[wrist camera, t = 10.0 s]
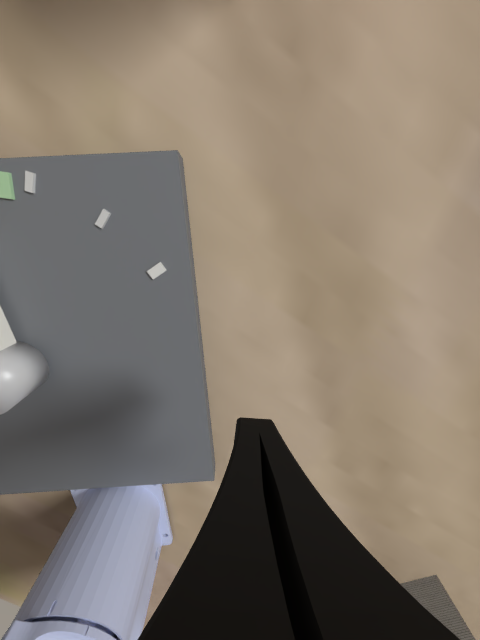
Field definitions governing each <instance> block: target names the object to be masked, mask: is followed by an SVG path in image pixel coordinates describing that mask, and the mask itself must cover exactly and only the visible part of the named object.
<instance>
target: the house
mask: <svg viewBox="0 0 480 640" xmlns="http://www.w3.org/2000/svg"><path fill="white" fill-rule="evenodd" d="M400 585H402V586H403V587H404V588H405V589H406V590H407V591H408V592H409V593H410V594H411V595H412V596H413V597H414V598H415V599H416V600H417V601H418V602H419V603H420V604H421V605H422V606H423V607H424V608H426V609H427V610H428V611H429V612H430V613H431V614H432V615H433V616H434V617H435V618H437V619H438V620H439V621H440V622H441V623H442V624H443V625H444V626H446V627H447V628H448V629H449V630H450V631H451V632H452V633H453V634H455V635H456V636H457V637H458V638H459V639H460V640H475V638H474V637H473V635H472V633H471V632H470V630H469V628H468V627H467V625H466V623H465V622H464V620H463V618H462V617H461V615H460V613H459V612H458V610H457V608H456V607H455V605H454V603H453V602H452V600H451V598H450V597H449V595H448V593H447V592H446V590H445V588H444V587H443V585H442V583H441V582H440V580H439V578H438V577H437V575H433V576H429V577H425V578H422V579H418V580H414V581H410V582H406V583H402V584H400Z"/></svg>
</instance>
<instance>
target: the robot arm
mask: <svg viewBox="0 0 480 640" xmlns="http://www.w3.org/2000/svg"><path fill="white" fill-rule="evenodd" d="M70 491H71V494H72V496H73V499H74V502H75V504H76V507H77V509H76V510H75V512H74V514H73V516H72V517H71V519H70V521H69V523H68V525H67V526H66V528H65V530H64V532H63V533H62V535H61V537H60V539H59V541H58V542H57V544H56V546H55V548H54V549H53V551H52V553H51V555H50V556H49V558H48V560H47V562H46V564H45V565H44V567H43V569H42V571H41V572H40V574H39V576H38V578H37V580H36V581H35V583H34V585H33V587H32V588H31V590H30V592H29V594H28V595H27V597H26V599H25V601H24V603H23V604H22V606H21V608H20V610H19V611H18V614H17V615H16V617H15V619H14V620H13V622H12V624H11V626H10V627H9V629H8V630H7V631H6V633H5V634H4V636H3V637H2V639H1V640H460V639H459V638H458V637H457V636H456V635H455V634H453V633H452V632H451V631H450V630H449V629H448V628H447V627H446V626H444V625H443V624H442V623H441V622H440V621H439V620H438V619H437V618H435V617H434V616H433V615H432V614H431V613H430V612H429V611H428V610H427V609H426V608H424V607H423V606H422V605H421V604H420V603H419V602H418V601H417V600H416V599H415V598H414V597H413V596H412V595H411V594H410V593H409V592H408V591H407V590H406V589H405V588H404V587H403V586H402V585H400V584H399V583H398V582H397V581H396V580H395V579H394V578H393V577H392V576H391V575H390V574H389V572H388V571H387V570H386V569H385V568H384V567H383V566H382V565H381V564H380V563H379V562H378V561H377V560H376V559H375V558H374V557H373V556H372V555H371V554H370V553H369V552H368V551H367V550H366V548H365V547H364V546H363V545H362V544H361V543H360V542H359V541H358V540H357V539H356V538H355V536H354V535H353V534H352V533H351V532H350V531H349V530H348V528H347V527H346V526H345V525H344V524H343V523H342V522H341V520H340V519H339V518H338V517H337V515H336V514H335V513H334V512H333V511H332V509H331V508H330V507H329V506H328V504H327V503H326V502H325V501H324V499H323V498H322V497H321V495H320V494H319V493H318V491H317V490H316V489H315V487H314V486H313V485H312V483H311V482H310V480H309V479H308V478H307V476H306V475H305V473H304V472H303V470H302V469H301V467H300V466H299V464H298V463H297V461H296V460H295V458H294V457H293V455H292V454H291V452H290V450H289V449H288V447H287V445H286V444H285V442H284V440H283V439H282V437H281V435H280V434H279V432H278V430H277V428H276V426H275V425H274V423H273V421H272V420H270V419H255V418H239V419H237V424H236V431H235V439H234V447H233V450H232V453H231V457H230V460H229V463H228V466H227V469H226V472H225V475H224V477H223V480H222V483H221V485H220V488H219V490H218V493H217V495H216V498H215V500H214V502H213V504H212V507H211V509H210V511H209V513H208V515H207V518H206V520H205V522H204V524H203V526H202V528H201V530H200V532H199V534H198V536H197V538H196V540H195V542H194V544H193V546H192V548H191V549H190V551H189V553H188V555H187V557H186V559H185V560H184V562H183V564H182V566H181V568H180V569H179V571H178V573H177V575H176V576H175V578H174V580H173V582H172V584H171V585H170V587H169V589H168V591H167V592H166V594H165V596H164V597H163V599H162V601H161V603H160V604H159V606H158V607H157V609H156V611H155V612H154V614H153V615H152V617H151V619H150V620H149V622H148V624H147V625H146V627H145V628H144V630H143V626H144V622H145V618H146V614H147V609H148V605H149V600H150V596H151V591H152V587H153V582H154V578H155V573H156V569H157V564H158V560H159V555H160V551H161V546H162V545H169V544H171V543H172V540H173V536H172V531H171V527H170V522H169V517H168V512H167V507H166V502H165V498H164V493H163V488H162V484H153V485H138V486H123V487H108V488H92V489H77V490H70ZM142 630H143V632H142Z"/></svg>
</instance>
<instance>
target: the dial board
mask: <svg viewBox="0 0 480 640" xmlns="http://www.w3.org/2000/svg"><path fill="white" fill-rule="evenodd" d="M0 306H1V308H2V310H3V313H4V315H5V317H6V319H7V322H8V324H9V326H10V328H11V330H12V333H13V335H14V337H15V339H16V341H20V342H24V343H27V344H29V345H31V346H33V347H34V348H36V349H37V350H38V351H40V352H41V353H42V355H43V356H44V357H45V359H46V361H47V363H48V367H49V374H48V377H47V379H46V381H45V382H44V383H43V384H41V385H40V386H39V387H38V388H36V389H35V390H34V391H33V392H31V393H30V394H29V395H28V396H26V397H25V398H24V399H23V400H21V401H20V402H19V403H17V404H16V405H15V406H14V407H12V408H11V409H10V410H9V411H7V412H6V413H4V414H1V415H0V495H1V494H16V493H31V492H47V491H62V490H77V489H92V488H108V487H123V486H138V485H153V484H169V483H184V482H199V481H214V476H215V458H214V448H213V439H212V430H211V420H210V411H209V401H208V392H207V383H206V373H205V364H204V355H203V345H202V336H201V326H200V317H199V308H198V298H197V289H196V280H195V270H194V261H193V251H192V242H191V233H190V223H189V214H188V205H187V195H186V186H185V176H184V167H183V158H182V157H181V155H180V154H179V152H178V151H177V150H173V151H152V152H130V153H108V154H86V155H64V156H42V157H21V158H0Z"/></svg>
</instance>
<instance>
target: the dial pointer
mask: <svg viewBox="0 0 480 640" xmlns="http://www.w3.org/2000/svg"><path fill="white" fill-rule="evenodd" d="M48 374H49V367H48V363H47V361H46V359H45V357H44V356H43V355H42V353H41V352H40V351H38V350H37V349H36V348H34V347H33V346H31V345H29V344H27V343H24V342H20V341H16V339H15V337H14V335H13V333H12V330H11V328H10V326H9V324H8V322H7V319H6V317H5V315H4V313H3V310H2V308H1V306H0V415H1V414H4V413H6V412H7V411H9V410H10V409H11V408H12V407H14V406H15V405H16V404H17V403H19V402H20V401H21V400H23V399H24V398H25V397H26V396H28V395H29V394H30V393H31V392H33V391H34V390H35V389H36V388H38V387H39V386H40V385H41V384H43V383H44V382H45V381H46V379H47V377H48Z"/></svg>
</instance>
